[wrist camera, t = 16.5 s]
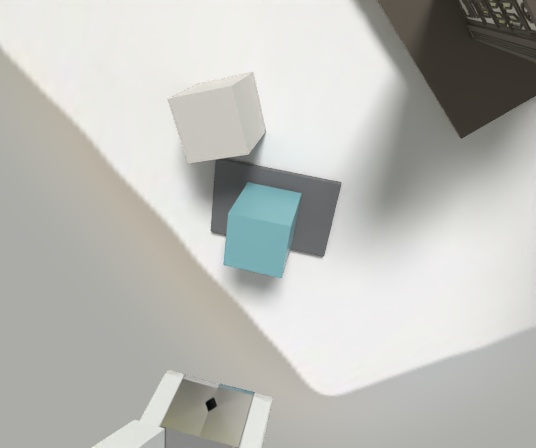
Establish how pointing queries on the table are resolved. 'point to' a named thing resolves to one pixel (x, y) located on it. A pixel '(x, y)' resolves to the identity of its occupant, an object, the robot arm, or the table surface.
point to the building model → (470, 54)
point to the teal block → (261, 229)
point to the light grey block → (218, 118)
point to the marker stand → (312, 188)
